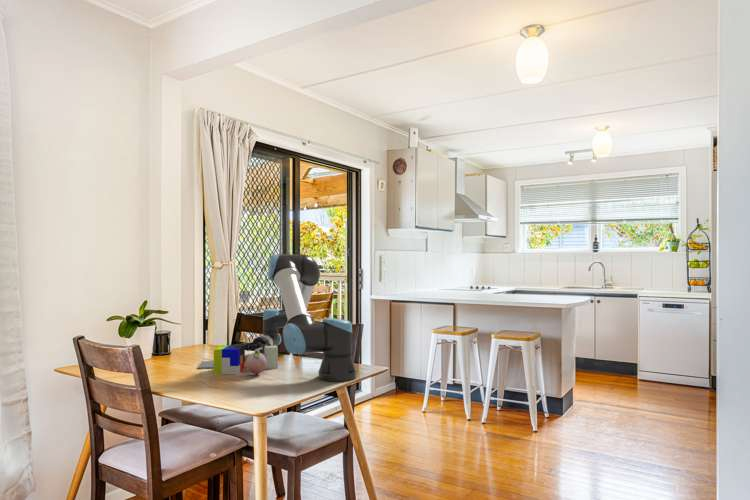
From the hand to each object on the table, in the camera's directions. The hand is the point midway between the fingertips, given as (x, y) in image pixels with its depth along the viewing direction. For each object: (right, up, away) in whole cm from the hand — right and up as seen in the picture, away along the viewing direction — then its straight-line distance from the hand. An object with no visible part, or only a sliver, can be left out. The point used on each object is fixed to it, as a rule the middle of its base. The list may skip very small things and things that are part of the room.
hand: (241, 352), depth 223 cm
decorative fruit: (+10, -6, -17) cm, 21 cm away
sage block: (+14, -6, -3) cm, 15 cm away
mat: (-12, -6, +1) cm, 13 cm away
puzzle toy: (-2, -6, -10) cm, 12 cm away
